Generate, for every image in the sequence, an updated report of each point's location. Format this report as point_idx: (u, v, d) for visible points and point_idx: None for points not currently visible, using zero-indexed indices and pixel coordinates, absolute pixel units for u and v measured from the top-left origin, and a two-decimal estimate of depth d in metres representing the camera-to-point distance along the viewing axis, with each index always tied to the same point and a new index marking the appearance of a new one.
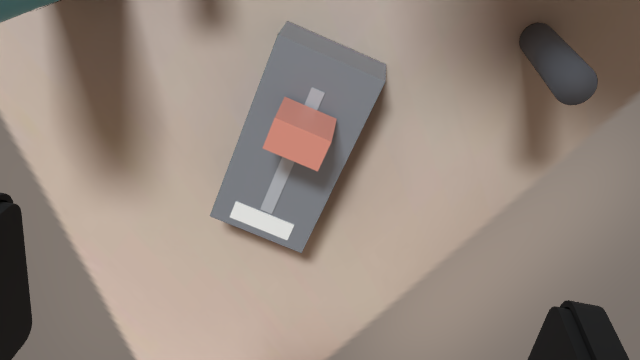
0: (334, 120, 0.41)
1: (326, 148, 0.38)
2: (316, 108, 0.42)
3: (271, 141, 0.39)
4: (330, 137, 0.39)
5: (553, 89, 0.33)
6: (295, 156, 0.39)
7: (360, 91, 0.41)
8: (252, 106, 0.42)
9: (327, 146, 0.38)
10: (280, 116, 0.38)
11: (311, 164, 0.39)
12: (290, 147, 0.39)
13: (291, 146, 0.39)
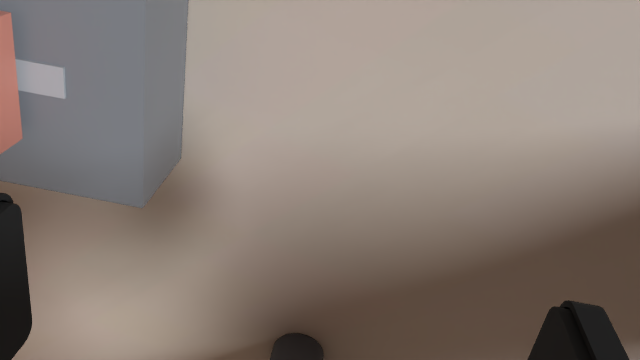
0: (13, 140, 0.18)
1: None
2: (23, 88, 0.18)
3: None
4: None
5: None
6: None
7: (102, 167, 0.19)
8: None
9: None
10: None
11: None
12: None
13: None
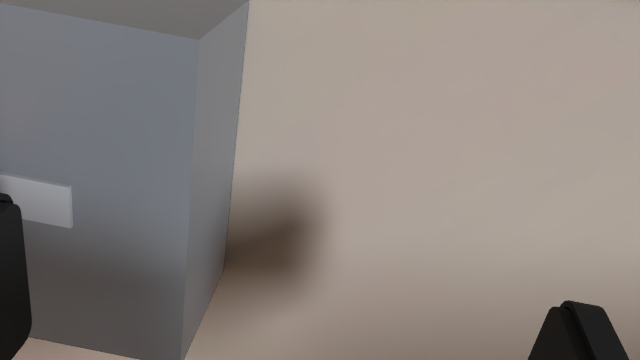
0: None
1: None
2: None
3: None
4: None
5: None
6: None
7: (124, 316, 0.14)
8: None
9: None
10: None
11: None
12: None
13: None
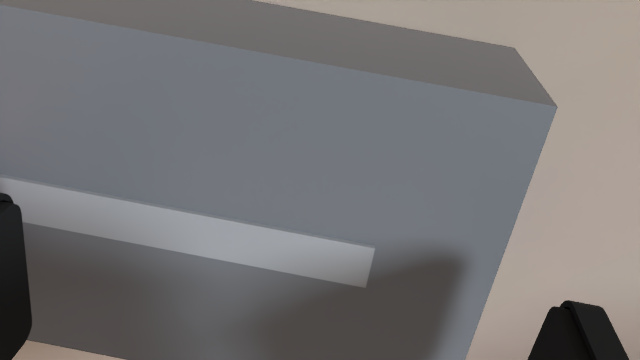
0: None
1: None
2: (304, 271, 0.12)
3: None
4: None
5: None
6: None
7: None
8: (236, 54, 0.10)
9: None
10: None
11: None
12: None
13: None
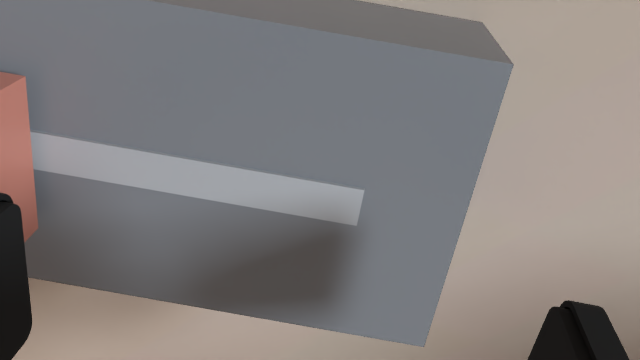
0: (28, 233, 0.14)
1: None
2: (304, 212, 0.14)
3: None
4: None
5: None
6: None
7: (383, 302, 0.15)
8: (247, 23, 0.12)
9: None
10: None
11: None
12: None
13: None
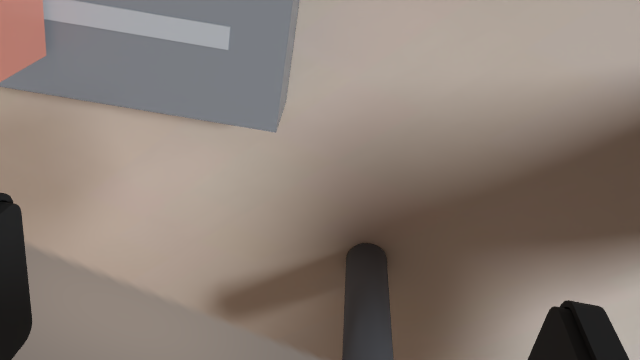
0: (41, 55, 0.25)
1: None
2: (198, 42, 0.25)
3: None
4: (3, 76, 0.22)
5: None
6: None
7: (249, 101, 0.26)
8: None
9: None
10: None
11: None
12: None
13: None
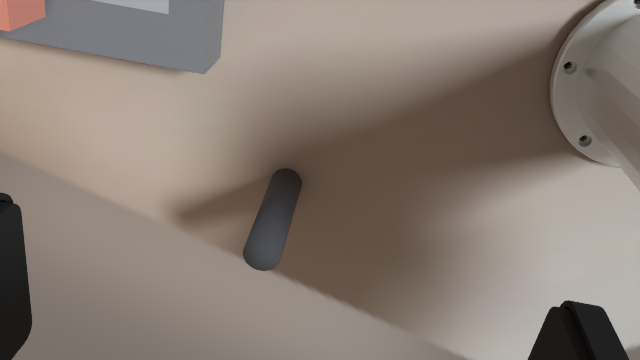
0: (41, 16, 0.37)
1: None
2: (147, 8, 0.37)
3: None
4: (14, 26, 0.34)
5: (252, 241, 0.37)
6: None
7: (184, 51, 0.38)
8: None
9: (2, 28, 0.34)
10: None
11: None
12: None
13: None
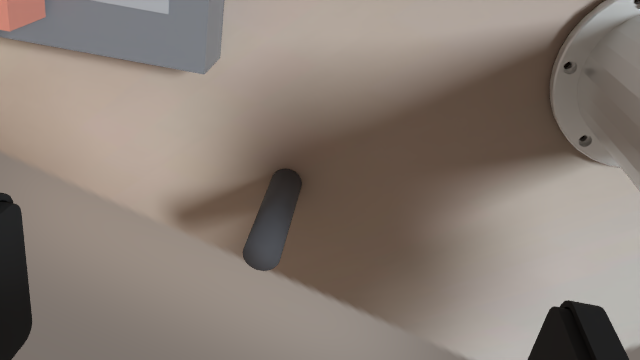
0: (41, 16, 0.37)
1: None
2: (147, 8, 0.37)
3: None
4: (14, 26, 0.34)
5: (251, 240, 0.37)
6: None
7: (184, 51, 0.38)
8: None
9: (2, 28, 0.34)
10: None
11: None
12: None
13: None
